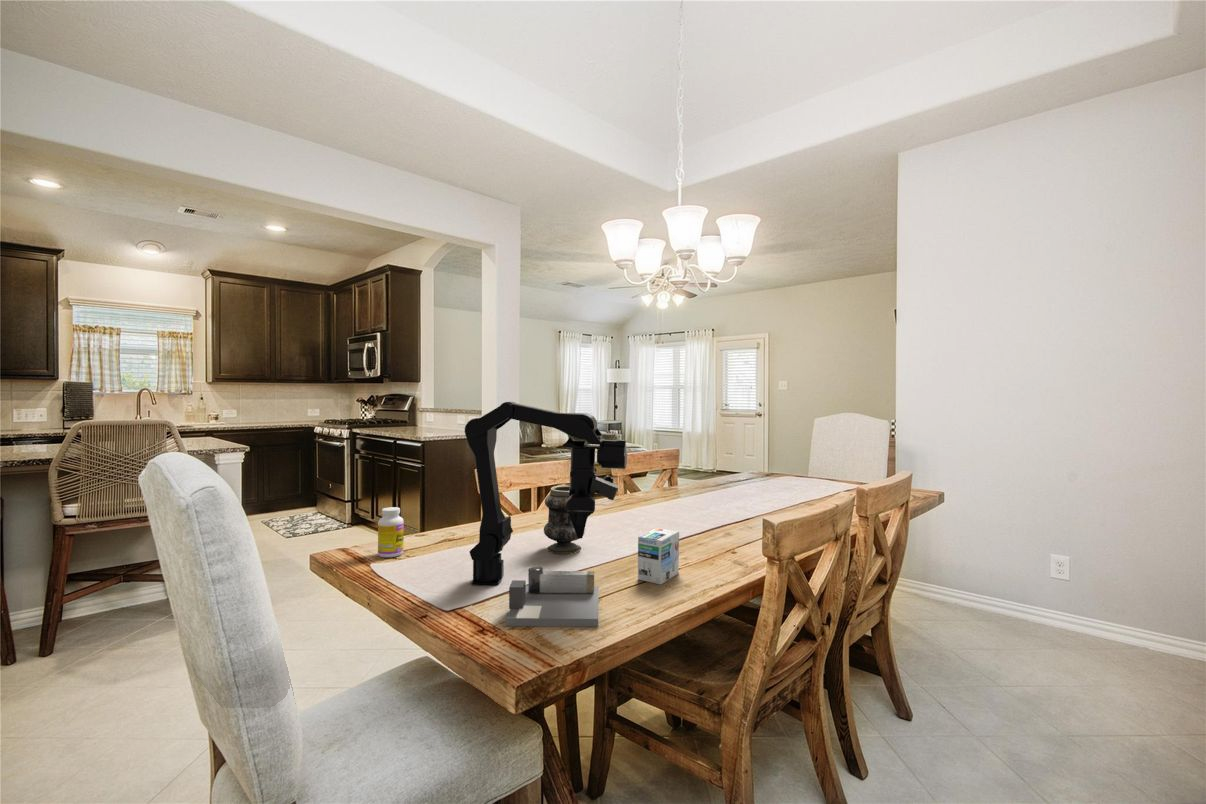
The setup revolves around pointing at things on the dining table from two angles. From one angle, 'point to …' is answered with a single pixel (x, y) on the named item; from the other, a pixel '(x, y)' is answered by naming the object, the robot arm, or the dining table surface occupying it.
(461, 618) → the dining table surface
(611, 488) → the robot arm
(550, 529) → the apothecary jar
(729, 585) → the dining table surface
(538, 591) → the bar
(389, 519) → the supplement bottle
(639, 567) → the light bulb box
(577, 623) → the plate
